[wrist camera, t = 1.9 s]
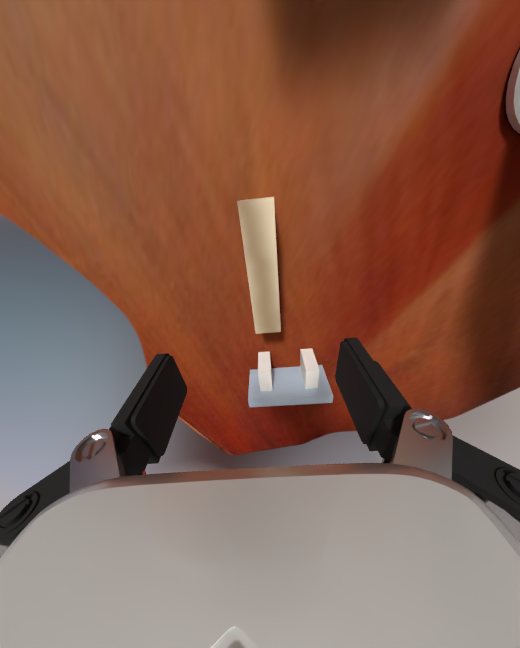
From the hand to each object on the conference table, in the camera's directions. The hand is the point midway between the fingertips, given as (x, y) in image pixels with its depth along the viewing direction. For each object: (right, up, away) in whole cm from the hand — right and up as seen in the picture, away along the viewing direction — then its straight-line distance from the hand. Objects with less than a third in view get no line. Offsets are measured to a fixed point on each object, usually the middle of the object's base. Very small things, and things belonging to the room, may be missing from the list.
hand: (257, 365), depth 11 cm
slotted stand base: (+6, -7, +32) cm, 33 cm away
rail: (+1, +12, +20) cm, 23 cm away
